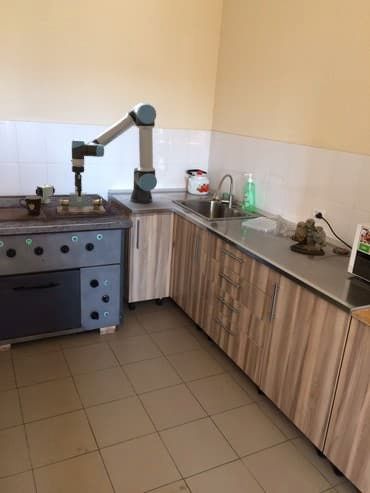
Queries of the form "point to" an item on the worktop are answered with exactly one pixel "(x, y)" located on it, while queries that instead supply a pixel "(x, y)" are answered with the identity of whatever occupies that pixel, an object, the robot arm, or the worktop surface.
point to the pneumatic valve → (45, 192)
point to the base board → (81, 210)
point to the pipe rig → (65, 204)
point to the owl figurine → (309, 238)
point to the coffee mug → (33, 205)
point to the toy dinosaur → (282, 225)
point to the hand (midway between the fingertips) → (78, 199)
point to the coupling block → (74, 200)
